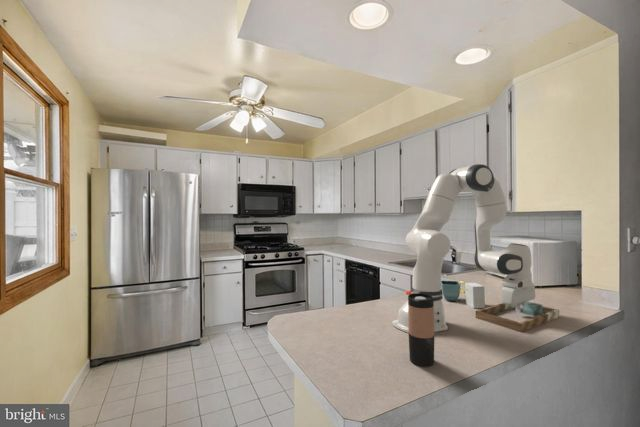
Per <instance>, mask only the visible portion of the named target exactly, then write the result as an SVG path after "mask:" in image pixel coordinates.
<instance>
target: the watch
mask: <svg viewBox="0 0 640 427" xmlns="http://www.w3.org/2000/svg"><path fill="white" fill-rule="evenodd" d="M465 283H466V281H462V280H461V281H459V284H460V285H461V284H463V285H464V286H465ZM460 293H465V290H464V291H463V290H462V289H461V287H460Z"/></svg>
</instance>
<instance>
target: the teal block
mask: <svg viewBox="0 0 640 427" xmlns="http://www.w3.org/2000/svg"><path fill="white" fill-rule="evenodd" d="M520 314H525V315H527V316H531V317H532V318H534V317H537V316H540V315H542V314H543V304H541V303H536V302H533V301H531V300H530V301H526V302H525V306H524V311H523V312H521V313H520Z"/></svg>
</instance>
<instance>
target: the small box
mask: <svg viewBox="0 0 640 427" xmlns="http://www.w3.org/2000/svg"><path fill="white" fill-rule="evenodd" d="M464 286H465V288H464V289H465V290H464V292H465V304H466V305H467V306H469V307H471V308H473V309H484V308H486V297H485V296H486V295H485V292H486V291H485V286H484V285H482V284H480V283H478V282H465V285H464Z"/></svg>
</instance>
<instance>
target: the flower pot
mask: <svg viewBox="0 0 640 427" xmlns="http://www.w3.org/2000/svg"><path fill="white" fill-rule="evenodd" d="M459 283H460V281H458V280H441V289H442V293H443V295H442V296H443V297H444V299H445V301H449V302H450V301H453V302H456V301H458V299H459V298H460V294H461V292H460V288H461V284H459Z"/></svg>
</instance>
